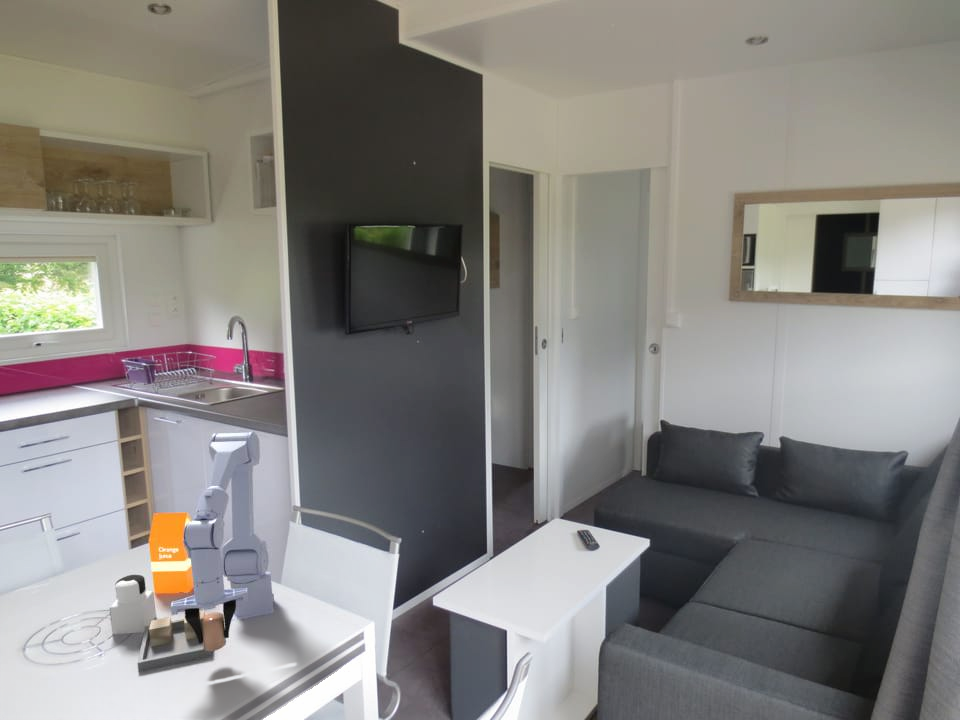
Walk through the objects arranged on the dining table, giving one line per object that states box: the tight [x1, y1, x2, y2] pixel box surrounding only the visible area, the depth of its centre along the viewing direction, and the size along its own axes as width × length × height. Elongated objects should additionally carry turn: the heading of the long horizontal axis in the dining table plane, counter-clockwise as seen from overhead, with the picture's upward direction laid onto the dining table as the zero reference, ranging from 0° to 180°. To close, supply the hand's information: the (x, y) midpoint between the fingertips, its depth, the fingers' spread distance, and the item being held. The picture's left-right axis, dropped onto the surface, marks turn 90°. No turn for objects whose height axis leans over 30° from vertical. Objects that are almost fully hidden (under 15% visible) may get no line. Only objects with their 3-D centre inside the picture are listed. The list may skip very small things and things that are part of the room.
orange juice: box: [148, 512, 194, 594], centre depth 175 cm, size 8×9×20 cm
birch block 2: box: [184, 610, 206, 639], centre depth 153 cm, size 4×4×4 cm
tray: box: [137, 613, 213, 672], centre depth 148 cm, size 14×15×2 cm
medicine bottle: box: [109, 574, 157, 635], centre depth 156 cm, size 7×7×12 cm
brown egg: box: [201, 611, 227, 652], centre depth 140 cm, size 4×4×6 cm
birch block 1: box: [149, 616, 173, 647], centre depth 150 cm, size 4×4×4 cm
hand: (214, 638), depth 140 cm, fingers closed on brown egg, 4 cm apart
